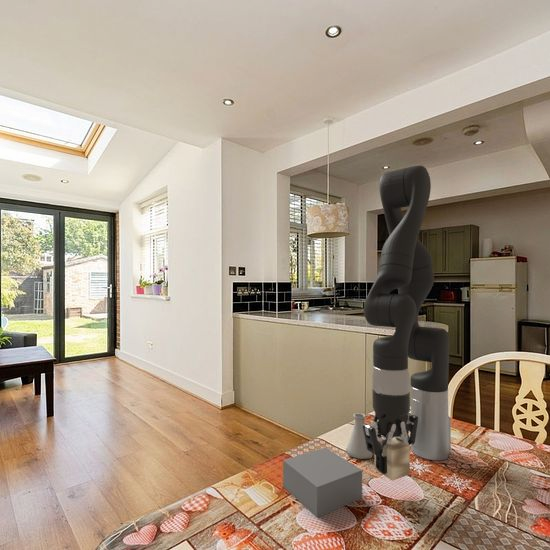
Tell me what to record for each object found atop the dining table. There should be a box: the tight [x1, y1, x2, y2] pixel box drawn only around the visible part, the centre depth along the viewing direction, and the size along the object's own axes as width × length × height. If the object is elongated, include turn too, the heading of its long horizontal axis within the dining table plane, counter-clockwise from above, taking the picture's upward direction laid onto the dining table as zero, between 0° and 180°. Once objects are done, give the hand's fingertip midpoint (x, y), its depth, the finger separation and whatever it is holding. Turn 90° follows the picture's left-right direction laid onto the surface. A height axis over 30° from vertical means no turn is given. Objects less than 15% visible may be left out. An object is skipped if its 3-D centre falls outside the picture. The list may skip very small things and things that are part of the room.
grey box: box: [282, 447, 363, 518], centre depth 75 cm, size 12×12×6 cm
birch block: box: [373, 437, 411, 482], centre depth 74 cm, size 5×5×6 cm
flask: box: [345, 412, 374, 460], centre depth 92 cm, size 7×7×10 cm
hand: (391, 468), depth 74 cm, fingers closed on birch block, 5 cm apart
